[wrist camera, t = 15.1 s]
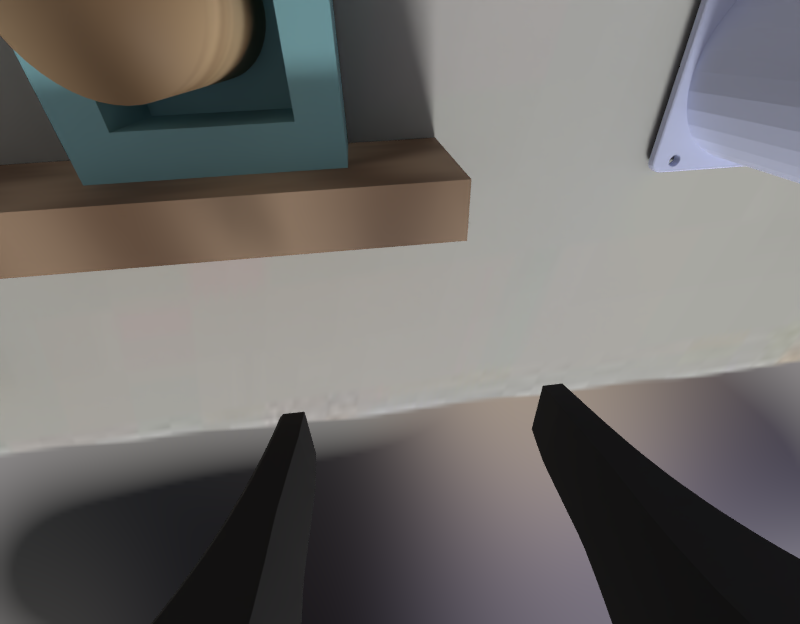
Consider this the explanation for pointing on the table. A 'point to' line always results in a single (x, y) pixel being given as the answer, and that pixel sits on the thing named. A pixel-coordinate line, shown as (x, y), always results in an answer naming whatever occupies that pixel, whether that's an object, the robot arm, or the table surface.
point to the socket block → (219, 113)
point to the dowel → (135, 44)
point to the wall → (230, 212)
